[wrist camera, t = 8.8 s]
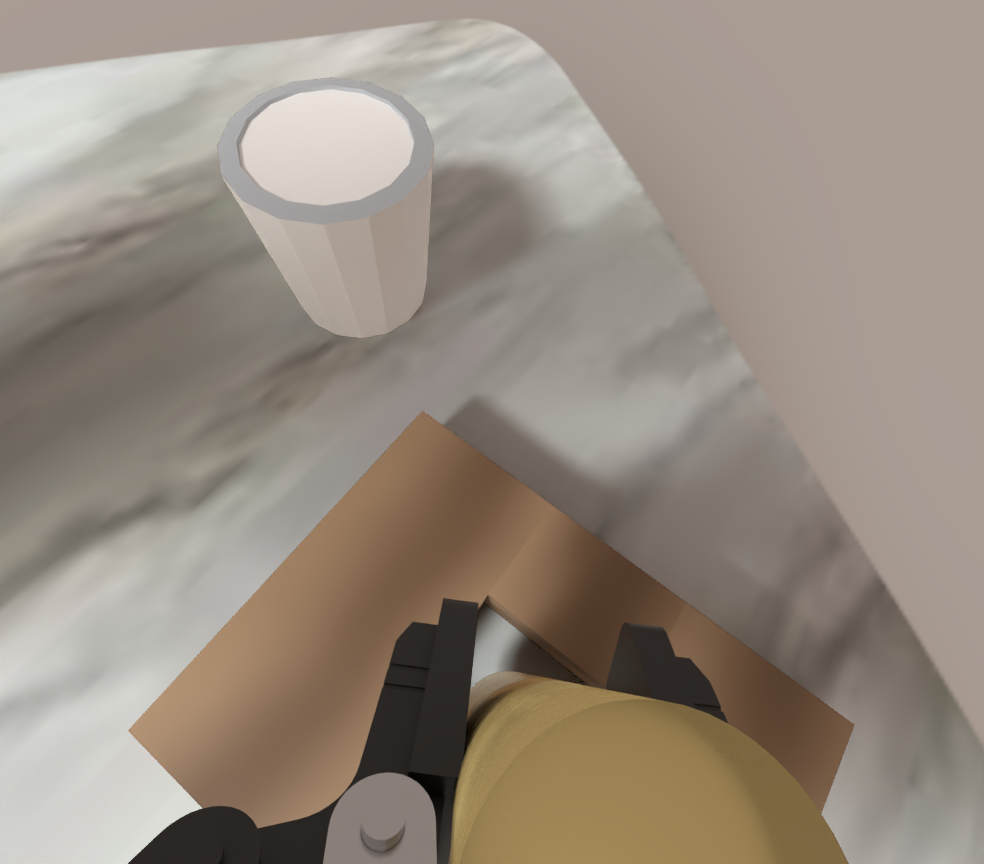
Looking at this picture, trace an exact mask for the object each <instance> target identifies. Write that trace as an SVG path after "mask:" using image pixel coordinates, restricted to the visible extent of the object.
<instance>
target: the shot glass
mask: <svg viewBox="0 0 984 864" xmlns="http://www.w3.org/2000/svg"><path fill="white" fill-rule="evenodd" d="M217 146H218V154H219V162H220V170H221V176H222V177H223V179H224V181H225V182H226V184H227V185H228V187H229V189H230V190H231V192H232V194H233V195H234V197H235V198H236V200H237V202H238V203H239V205H240V207H241V208H242V210H243V212H244V213H245V215H246V216H247V218H248V220H249V221H250V223H251V225H252V226H253V228H254V229H255V231H256V233H257V234H258V236H259V238H260V239H261V241H262V243H263V244H264V246H265V247H266V249H267V251H268V252H269V254H270V256H271V257H272V259H273V261H274V262H275V264H276V265H277V267H278V269H279V270H280V272H281V274H282V275H283V277H284V278H285V280H286V282H287V283H288V285H289V287H290V288H291V290H292V292H293V293H294V295H295V296H296V298H297V300H298V301H299V303H300V305H301V306H302V308H303V309H304V310H305V311H306V313H307V314H308V315H309V316H310V318H311V319H312V320H313V322H314V323H315V324H316V325H318V326H320V327H322V328H324V329H326V330H328V331H330V332H332V333H334V334H336V335H340V336H348V337H356V338H366V337H371V336H376V335H381V334H386V333H389V332H391V331H392V330H394V329H396V328H397V327H399V326H401V325H403V324H404V323H406V322H408V321H409V320H410V319H411V318H412V316H413V315H414V314H415V312H416V311H417V310H418V308H419V307H420V306H421V304H422V303H423V298H424V293H425V288H426V283H427V264H428V246H429V228H430V209H431V191H432V173H433V154H434V143H433V140H432V137H431V135H430V132H429V129H428V126H427V123H426V120H425V118H424V117H423V116H422V115H421V114H420V113H419V112H418V111H417V110H416V109H415V108H414V107H413V106H411V105H410V104H409V103H408V102H407V101H406V100H405V99H404V98H403V97H402V96H400V95H397V94H395V93H393V92H390V91H388V90H386V89H383V88H381V87H379V86H377V85H374V84H372V83H370V82H362V81H355V80H347V79H340V78H332V77H331V78H322V79H313V80H305V81H296V82H291V83H288V84H286V85H283V86H281V87H278V88H276V89H273V90H271V91H268V92H266V93H263V94H260V95H258V96H256V97H255V98H254V99H253V100H251V101H250V102H249V103H248V104H247V105H245V106H244V107H243V108H242V109H241V110H239V111H238V112H237V113H236V114H235V115H233V116H232V117H231V118H230V120H229V122H228V124H227V126H226V129H225V131H224V133H223V135H222V137H221V139H220V141H219V143H218V145H217Z"/></svg>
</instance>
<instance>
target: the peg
mask: <svg viewBox="0 0 984 864" xmlns="http://www.w3.org/2000/svg"><path fill="white" fill-rule="evenodd" d="M450 864H848V862H847V860H846V858H845V856H844V854H843V852H842V850H841V848H840V846H839V844H838V842H837V840H836V838H835V836H834V834H833V832H832V831H831V829H830V827H829V826H828V824H827V823H826V821H825V819H824V818H823V816H822V815H821V813H820V811H819V810H818V808H817V807H816V805H815V804H814V803H813V801H812V800H811V799H810V797H809V796H808V795H807V794H806V792H805V791H804V790H803V788H802V787H801V786H800V784H799V783H798V782H797V781H796V780H795V779H794V777H793V776H792V775H791V774H790V773H789V772H788V771H787V770H786V769H785V768H784V767H783V766H782V765H781V764H780V763H779V762H778V761H777V759H775V758H774V757H773V756H772V755H771V754H770V753H768V752H767V751H766V750H765V749H764V748H762V747H761V746H760V745H759V744H758V743H757V742H755V741H754V740H753V739H751V738H750V737H748V736H747V735H745V734H744V733H742V732H741V731H739V730H738V729H736V728H735V727H733V726H732V725H730V724H728V723H726V722H724V721H722V720H720V719H718V718H716V717H714V716H712V715H710V714H708V713H705V712H702V711H700V710H697V709H694V708H691V707H688V706H685V705H681V704H676V703H671V702H666V701H661V700H656V699H651V698H646V697H641V696H636V695H631V694H626V693H621V692H616V691H611V690H606V689H601V688H596V687H591V686H586V685H581V684H576V683H571V682H566V681H561V680H556V679H551V678H546V677H541V676H536V675H531V674H526V673H521V672H516V671H501V672H497V673H494V674H491V675H489V676H487V677H485V678H483V679H482V680H481V681H479V682H478V683H477V684H476V685H475V686H474V687H473V688H472V689H471V690H470V696H469V706H468V716H467V726H466V737H465V747H464V757H463V761H462V764H461V768H460V772H459V776H458V779H457V783H456V787H455V792H454V798H453V812H452V834H451V856H450Z"/></svg>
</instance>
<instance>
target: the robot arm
mask: <svg viewBox="0 0 984 864" xmlns="http://www.w3.org/2000/svg"><path fill="white" fill-rule="evenodd" d="M478 605H479V603H477V602H470V601H462V600H454V599H447V598H443V602H442V607H441V612H440V617H439V622H438V625H434V624H427V623H419V622H412V623H411V624H410V625H409V626H408V628H407V629H406V630H405V631H404V632H403V633H402V634H401V635H400V636H399V638H398V639H397V640H396V643H395V646H394V650H393V653H392V656H391V660H390V664H389V668H388V670H387V673H386V677H385V680H384V685H383V688H382V690H381V694H380V697H379V700H378V704H377V707H376V710H375V714H374V717H373V721H372V724H371V727H370V731H369V734H368V738H367V741H366V744H365V748H364V751H363V754H362V758H361V761H360V765H359V767H358V770H357V773H356V775H355V777H354V778H353V780H352V782H351V784H350V785H349V786H348V788H347V789H346V790H345V791H344V792H343V794H342V795H341V796H340V797H339V798H338V799H336V800H335V801H334V802H333V803H331V804H330V805H329V806H327V807H326V808H324V809H322V810H321V811H319V812H317V813H315V814H312V815H310V816H307V817H304V818H301V819H297V820H292V821H288V822H284V823H279V824H275V825H270V826H266V827H262V828H257V826H256V825H255V823H254V821H253V820H252V819H251V818H250V817H249V816H248V815H247V814H246V813H244V812H243V811H241V810H239V809H236V808H233V807H228V806H212V807H207V808H203V809H200V810H197V811H194V812H191V813H189V814H187V815H185V816H183V817H182V818H180V819H178V820H177V821H175V822H174V823H172V824H171V825H169V826H168V827H167V828H166V829H164V830H163V831H162V832H161V833H160V834H159V835H158V836H156V837H155V838H154V839H153V840H152V841H151V842H150V843H149V844H148V845H147V846H146V847H145V848H144V849H143V850H142V851H141V852H140V853H138V854H137V855H136V856H135V857H134V858H133V859H132V860H131V861H130V862H129V863H128V864H449V857H450V850H451V834H452V812H453V798H454V792H455V787H456V783H457V779H458V776H459V772H460V768H461V764H462V761H463V757H464V747H465V737H466V726H467V716H468V706H469V696H470V686H471V676H472V666H473V656H474V646H475V636H476V626H477V616H478ZM606 690H611V691H616V692H621V693H626V694H631V695H636V696H641V697H646V698H651V699H656V700H661V701H666V702H671V703H676V704H681V705H685V706H688V707H691V708H694V709H697V710H700V711H702V712H705V713H708V714H710V715H712V716H714V717H716V718H718V719H720V720H722V721H724V722H726V723H728V721H727V719H726V717H725V714H724V712H721V705H720V703H719V701H718V699H717V696H716V694H715V692H714V689H713V687H712V685H711V683H710V681H709V680H708V679H707V677H706V676H705V675H704V674H703V673H702V672H701V671H700V669H699V668H698V667H697V666H696V665H695V664H694V663H693V661H692V660H691V659H690V658H684V657H676V656H675V653H674V651H673V648H672V645H671V643H670V640H669V638H668V635H667V633H666V631H665V629H664V628H663V627H658V626H650V625H643V624H635V623H627V622H626V623H624V624H623V625H622V627H621V630H620V634H619V638H618V641H617V645H616V649H615V652H614V656H613V660H612V663H611V667H610V671H609V674H608V678H607V684H606Z"/></svg>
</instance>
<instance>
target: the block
mask: <svg viewBox="0 0 984 864" xmlns="http://www.w3.org/2000/svg"><path fill="white" fill-rule="evenodd" d="M443 598H447V599H454V600H462V601H470V602H477V603H479V605H478V610H479V609H480V608H481V606H482V605H483V604H484V603H485V604H487V605H488V606H489V607H490V608H492V609H493V610H494V611H495V612H497V613H498V614H499V615H500V616H502V617H503V618H504V619H505V620H507V621H508V622H509V623H510V624H512V625H513V626H514V627H515V628H517V629H518V630H519V631H520V632H522V633H523V634H524V635H525V636H527V637H528V638H529V639H530V640H532V641H533V642H534V643H535V644H537V645H538V646H539V647H540V648H542V649H543V650H544V651H545V652H547V653H548V654H549V655H550V656H552V657H553V658H554V659H555V660H557V661H558V662H559V663H560V664H562V665H563V666H564V667H566V668H567V669H568V670H569V671H571V672H572V673H573V674H574V675H576V676H577V677H578V678H579V679H581V680H582V681H583V682H584V683H586V684H587V685H588V686H591V687H596V688H601V689H606V684H607V678H608V674H609V671H610V667H611V663H612V660H613V656H614V652H615V649H616V645H617V641H618V638H619V634H620V630H621V627H622V625H623V624H624V623H626V622H627V623H635V624H643V625H650V626H658V627H663V628H664V629H665V631H666V633H667V635H668V638H669V640H670V643H671V645H672V648H673V651H674V653H675V656H676V657H684V658H690V659H691V660H692V661H693V663H694V664H695V665H696V666H697V667H698V668H699V669H700V671H701V672H702V673H703V674H704V675H705V676H706V677H707V679H708V680H709V681H710V683H711V685H712V687H713V689H714V692H715V694H716V696H717V699H718V701H719V703H720V705H721V712H724V714H725V717H726V719H727V721H728V724H730V725H732V726H733V727H735V728H736V729H738V730H739V731H741V732H742V733H744V734H745V735H747V736H748V737H750V738H751V739H753V740H754V741H755V742H757V743H758V744H759V745H760V746H761V747H762V748H764V749H765V750H766V751H767V752H768V753H770V754H771V755H772V756H773V757H774V758H775V759H777V761H778V762H779V763H780V764H781V765H782V766H783V767H784V768H785V769H786V770H787V771H788V772H789V773H790V774H791V775H792V776H793V777H794V779H795V780H796V781H797V782H798V783H799V784H800V786H801V787H802V788H803V790H804V791H805V792H806V794H807V795H808V796H809V797H810V799H811V800H812V801H813V803H814V804H815V805H816V807H817V808H818V810H819V811H820V813H821V812H822V810H823V807H824V804H825V802H826V799H827V796H828V794H829V791H830V788H831V786H832V783H833V780H834V778H835V775H836V772H837V770H838V767H839V764H840V762H841V759H842V756H843V754H844V751H845V748H846V746H847V743H848V740H849V738H850V735H851V732H852V730H853V727H854V724H853V723H851V722H850V721H849V720H847V719H846V718H844V717H843V716H842V715H840V714H839V713H838V712H836V711H835V710H833V709H832V708H831V707H829V706H828V705H827V704H825V703H824V702H822V701H821V700H820V699H818V698H817V697H816V696H814V695H813V694H811V693H810V692H809V691H807V690H806V689H805V688H803V687H802V686H800V685H799V684H798V683H796V682H795V681H794V680H792V679H791V678H789V677H788V676H787V675H785V674H784V673H783V672H781V671H780V670H778V669H777V668H776V667H774V666H773V665H772V664H770V663H769V662H767V661H766V660H765V659H763V658H762V657H761V656H759V655H758V654H756V653H755V652H754V651H752V650H751V649H750V648H748V647H747V646H745V645H744V644H743V643H741V642H740V641H739V640H737V639H736V638H734V637H733V636H732V635H730V634H729V633H728V632H726V631H725V630H723V629H722V628H721V627H719V626H718V625H717V624H715V623H714V622H712V621H711V620H710V619H708V618H707V617H706V616H704V615H703V614H701V613H700V612H699V611H697V610H696V609H695V608H693V607H692V606H690V605H689V604H688V603H686V602H685V601H683V600H682V599H681V598H679V597H678V596H677V595H675V594H674V593H672V592H671V591H670V590H668V589H667V588H666V587H664V586H663V585H661V584H660V583H659V582H657V581H656V580H655V579H653V578H652V577H650V576H649V575H648V574H646V573H645V572H644V571H642V570H641V569H639V568H638V567H637V566H635V565H634V564H633V563H631V562H630V561H628V560H627V559H626V558H624V557H623V556H622V555H620V554H619V553H617V552H616V551H615V550H613V549H612V548H611V547H609V546H608V545H606V544H605V543H604V542H602V541H601V540H600V539H598V538H597V537H595V536H594V535H593V534H591V533H590V532H589V531H587V530H586V529H584V528H583V527H582V526H580V525H579V524H578V523H576V522H575V521H573V520H572V519H571V518H569V517H568V516H567V515H565V514H564V513H562V512H561V511H560V510H558V509H557V508H556V507H554V506H553V505H551V504H550V503H549V502H547V501H546V500H545V499H543V498H542V497H540V496H539V495H538V494H536V493H535V492H534V491H532V490H531V489H529V488H528V487H527V486H525V485H524V484H523V483H521V482H520V481H518V480H517V479H516V478H514V477H513V476H511V475H510V474H509V473H507V472H506V471H505V470H503V469H502V468H500V467H499V466H498V465H496V464H495V463H494V462H492V461H491V460H489V459H488V458H487V457H485V456H484V455H483V454H481V453H480V452H478V451H477V450H476V449H474V448H473V447H472V446H470V445H469V444H467V443H466V442H465V441H463V440H462V439H461V438H459V437H458V436H456V435H455V434H454V433H452V432H451V431H450V430H448V429H447V428H445V427H444V426H443V425H441V424H440V423H439V422H437V421H436V420H434V419H433V418H432V417H430V416H429V415H428V414H426V413H425V412H423V411H422V412H421V413H420V414H419V415H418V416H417V417H416V419H415V420H414V421H413V422H412V423H411V424H410V425H409V426H408V427H407V428H406V429H405V430H404V432H403V433H402V434H401V435H400V436H399V437H398V438H397V439H396V440H395V441H394V442H393V444H392V445H391V446H390V447H389V448H388V449H387V450H386V451H385V452H384V453H383V454H382V455H381V457H380V458H379V459H378V460H377V461H376V462H375V463H374V464H373V465H372V466H371V467H370V468H369V470H368V471H367V472H366V473H365V474H364V475H363V476H362V477H361V478H360V479H359V480H358V481H357V483H356V484H355V485H354V486H353V487H352V488H351V489H350V490H349V491H348V492H347V493H346V495H345V496H344V497H343V498H342V499H341V500H340V501H339V502H338V503H337V504H336V505H335V506H334V508H333V509H332V510H331V511H330V512H329V513H328V514H327V515H326V516H325V517H324V518H323V519H322V521H321V522H320V523H319V524H318V525H317V526H316V527H315V528H314V529H313V530H312V531H311V533H310V534H309V535H308V536H307V537H306V538H305V539H304V540H303V541H302V542H301V543H300V544H299V546H298V547H297V548H296V549H295V550H294V551H293V552H292V553H291V554H290V555H289V556H288V557H287V559H286V560H285V561H284V562H283V563H282V564H281V565H280V566H279V567H278V568H277V569H276V570H275V572H274V573H273V574H272V575H271V576H270V577H269V578H268V579H267V580H266V581H265V582H264V584H263V585H262V586H261V587H260V588H259V589H258V590H257V591H256V592H255V593H254V594H253V595H252V597H251V598H250V599H249V600H248V601H247V602H246V603H245V604H244V605H243V606H242V607H241V608H240V610H239V611H238V612H237V613H236V614H235V615H234V616H233V617H232V618H231V619H230V620H229V622H228V623H227V624H226V625H225V626H224V627H223V628H222V629H221V630H220V631H219V632H218V633H217V635H216V636H215V637H214V638H213V639H212V640H211V641H210V642H209V643H208V644H207V645H206V646H205V648H204V649H203V650H202V651H201V652H200V653H199V654H198V655H197V656H196V657H195V658H194V659H193V661H192V662H191V663H190V664H189V665H188V666H187V667H186V668H185V669H184V670H183V671H182V673H181V674H180V675H179V676H178V677H177V678H176V679H175V680H174V681H173V682H172V683H171V684H170V686H169V687H168V688H167V689H166V690H165V691H164V692H163V693H162V694H161V695H160V696H159V697H158V699H157V700H156V701H155V702H154V703H153V704H152V705H151V706H150V707H149V708H148V709H147V711H146V712H145V713H144V714H143V715H142V716H141V717H140V718H139V719H138V720H137V721H136V722H135V724H134V725H133V726H132V727H131V728H130V729H129V730H128V731H129V732H130V733H131V734H132V735H133V736H134V737H135V738H136V740H137V741H138V742H139V743H140V744H141V745H142V746H143V747H144V748H145V749H146V750H147V751H148V752H149V753H150V754H151V755H152V756H153V757H154V758H155V759H156V760H157V761H158V762H159V763H160V764H161V765H162V766H163V768H164V769H165V770H166V771H167V772H168V773H169V774H170V775H171V776H172V777H173V778H174V779H175V780H176V781H177V782H178V783H179V784H180V785H181V786H182V787H183V788H184V789H185V790H186V791H187V792H188V793H189V795H190V796H191V797H192V798H193V799H194V800H195V801H196V802H197V803H198V804H199V805H200V806H201V807H202V808H207V807H212V806H228V807H233V808H236V809H239V810H241V811H243V812H244V813H246V814H247V815H248V816H249V817H250V818H251V819H252V820H253V821H254V823H255V825H256V826H257V828H262V827H266V826H270V825H275V824H279V823H284V822H288V821H292V820H297V819H301V818H304V817H307V816H310V815H312V814H315V813H317V812H319V811H321V810H322V809H324V808H326V807H327V806H329V805H330V804H331V803H333V802H334V801H335V800H336V799H338V798H339V797H340V796H341V795H342V794H343V792H344V791H345V790H346V789H347V788H348V786H349V785H350V784H351V782H352V780H353V778H354V777H355V775H356V773H357V770H358V767H359V765H360V761H361V758H362V754H363V751H364V748H365V744H366V741H367V738H368V734H369V731H370V727H371V724H372V721H373V717H374V714H375V710H376V707H377V704H378V700H379V697H380V694H381V690H382V688H383V685H384V680H385V677H386V673H387V670H388V668H389V664H390V660H391V656H392V653H393V650H394V646H395V643H396V640H397V639H398V638H399V636H400V635H401V634H402V633H403V632H404V631H405V630H406V629H407V628H408V626H409V625H410V624H411V623H412V622H419V623H427V624H434V625H438V622H439V617H440V612H441V607H442V602H443ZM450 856H451V850H450ZM449 864H450V857H449Z"/></svg>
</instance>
